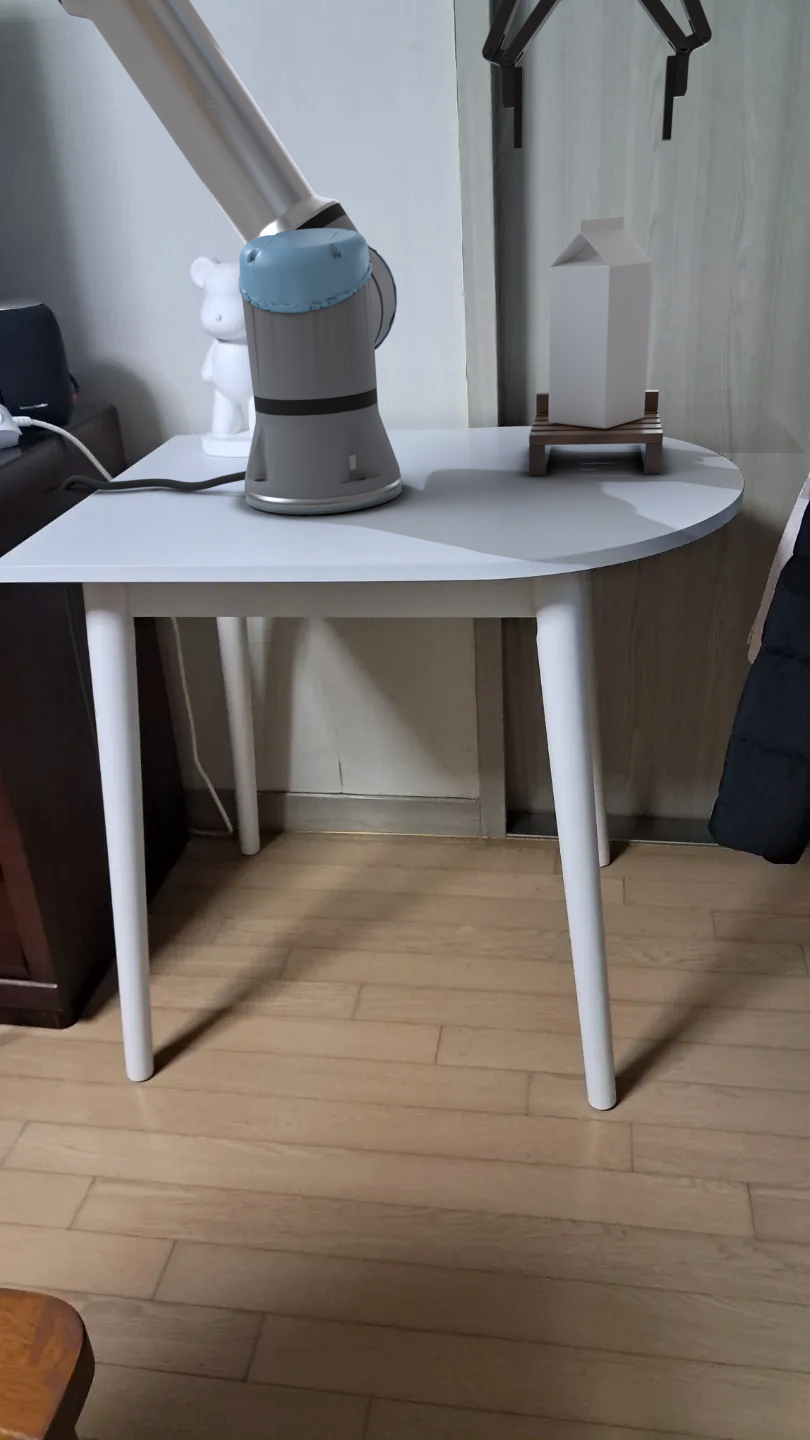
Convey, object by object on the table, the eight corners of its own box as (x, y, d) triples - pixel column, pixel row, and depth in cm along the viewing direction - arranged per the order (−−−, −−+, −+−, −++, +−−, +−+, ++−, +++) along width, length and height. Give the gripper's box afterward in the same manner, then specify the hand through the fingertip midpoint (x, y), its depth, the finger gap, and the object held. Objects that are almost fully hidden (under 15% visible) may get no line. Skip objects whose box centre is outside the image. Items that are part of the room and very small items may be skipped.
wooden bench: (528, 475, 104) (529, 414, 102) (536, 448, 116) (536, 392, 113) (660, 474, 102) (664, 411, 99) (655, 446, 113) (658, 389, 111)
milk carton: (644, 419, 107) (655, 215, 98) (604, 430, 102) (612, 218, 94) (588, 413, 112) (593, 218, 103) (547, 424, 107) (549, 221, 99)
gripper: (448, -139, 86) (454, 150, 96) (760, -173, 82) (734, 134, 91) (460, -115, 93) (464, 153, 102) (749, -146, 88) (726, 138, 98)
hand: (591, 145), depth 97 cm, fingers open, 13 cm apart
